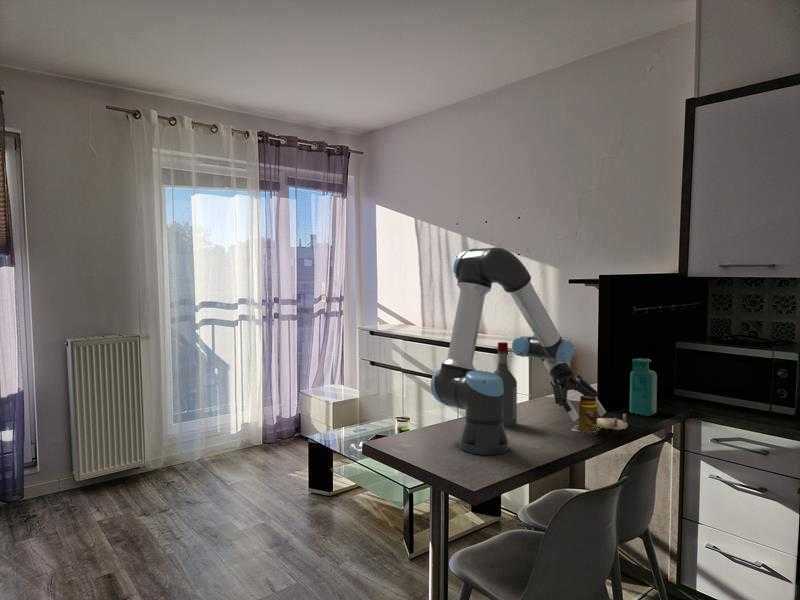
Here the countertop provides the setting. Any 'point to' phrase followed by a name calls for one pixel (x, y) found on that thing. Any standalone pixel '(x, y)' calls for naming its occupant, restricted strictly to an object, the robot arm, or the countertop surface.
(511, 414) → the liquor
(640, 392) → the teal bottle
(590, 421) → the condiment
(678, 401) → the countertop surface
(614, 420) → the flange base
